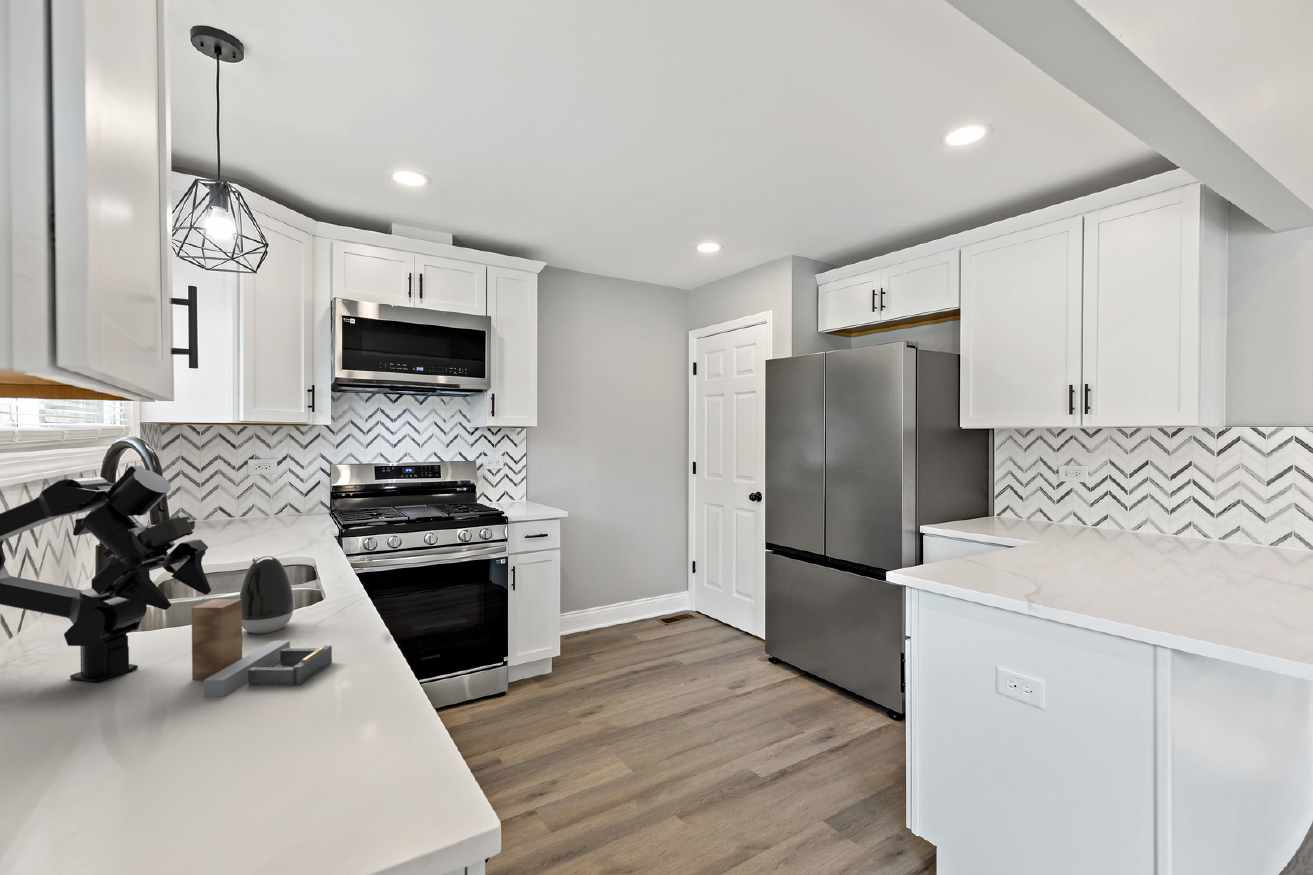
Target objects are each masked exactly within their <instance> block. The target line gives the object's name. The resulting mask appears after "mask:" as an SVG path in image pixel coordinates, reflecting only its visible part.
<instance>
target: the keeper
mask: <svg viewBox="0 0 1313 875" xmlns="http://www.w3.org/2000/svg"><path fill="white" fill-rule="evenodd" d="M332 648H333V646H332V645H324V646H321V647H318V648H317V647H316V648H307V647H306V648H302V647H301V648H296V647H295V648H291V647H290V648H284V649H282V650H281V651H280V661H279V663H280V664H279V665H280V666H281V667H279V666H274V667H273V666H270V667H253V668H251V669H249V670H248V681H247V682H248V685H247V686H302V685H304V683H306V682H307V681H309V680H310V679H311V678H312V677H314V676H315V675H317V674H318V673H319V672H321V671H322V670H324V669H325V668H326V667H327V666H329V665H330V664H332V662H333V649H332ZM287 666H288V667H287ZM289 666H293V667H289Z"/></svg>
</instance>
